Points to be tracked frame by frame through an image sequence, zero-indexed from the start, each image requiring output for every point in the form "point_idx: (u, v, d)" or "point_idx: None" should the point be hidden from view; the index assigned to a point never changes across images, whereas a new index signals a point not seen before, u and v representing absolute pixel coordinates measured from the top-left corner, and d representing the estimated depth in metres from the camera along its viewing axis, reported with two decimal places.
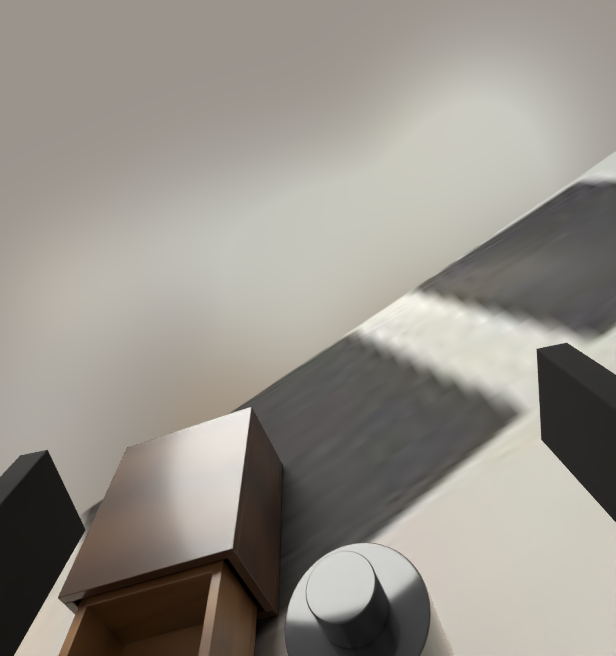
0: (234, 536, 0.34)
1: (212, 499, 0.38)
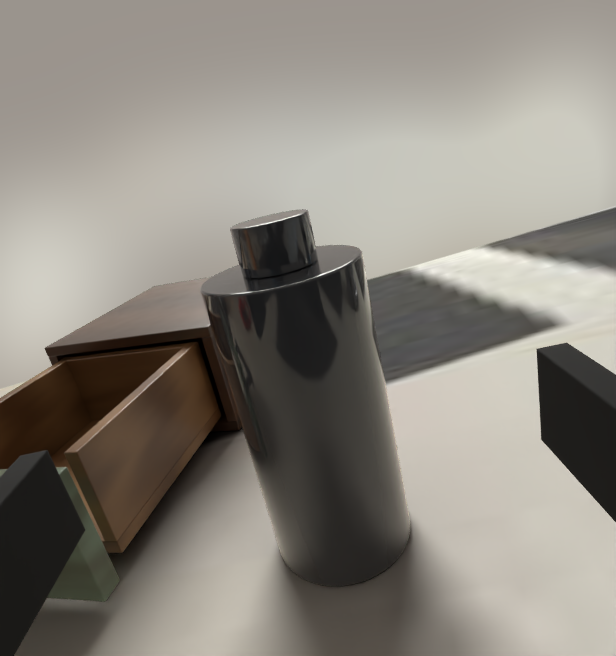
0: None
1: None
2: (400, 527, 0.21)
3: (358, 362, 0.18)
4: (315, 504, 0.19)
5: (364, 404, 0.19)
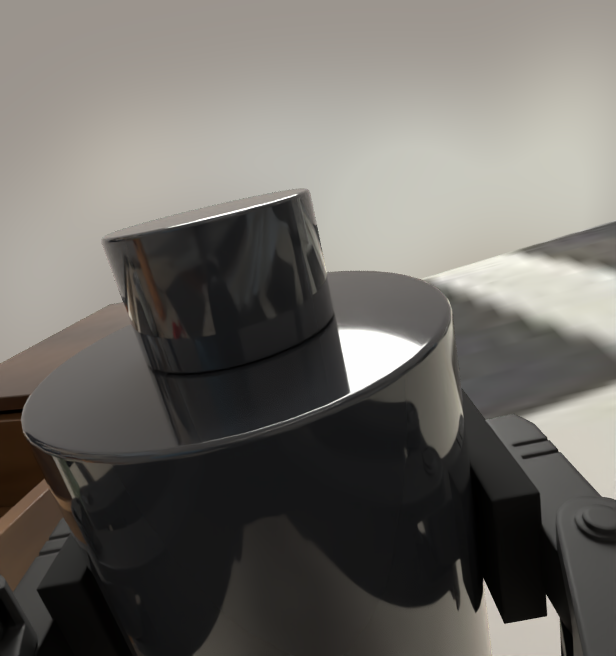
0: None
1: None
2: None
3: (448, 603, 0.07)
4: None
5: None
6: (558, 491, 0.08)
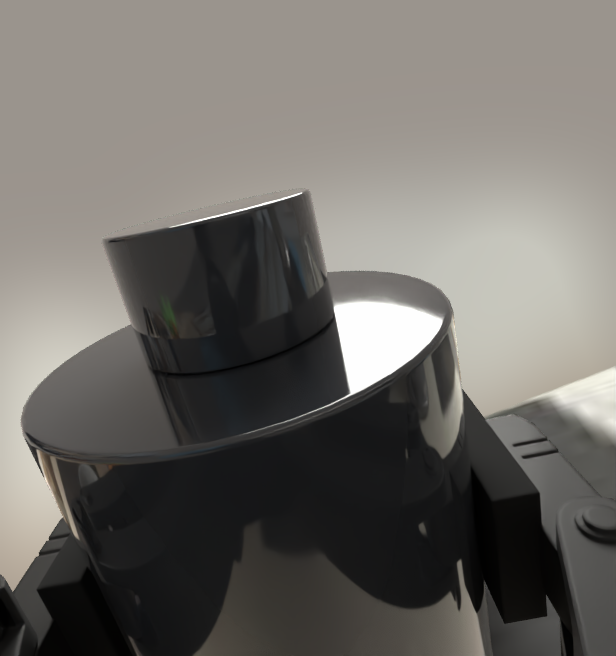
0: None
1: None
2: None
3: (449, 603, 0.07)
4: None
5: None
6: (557, 492, 0.08)
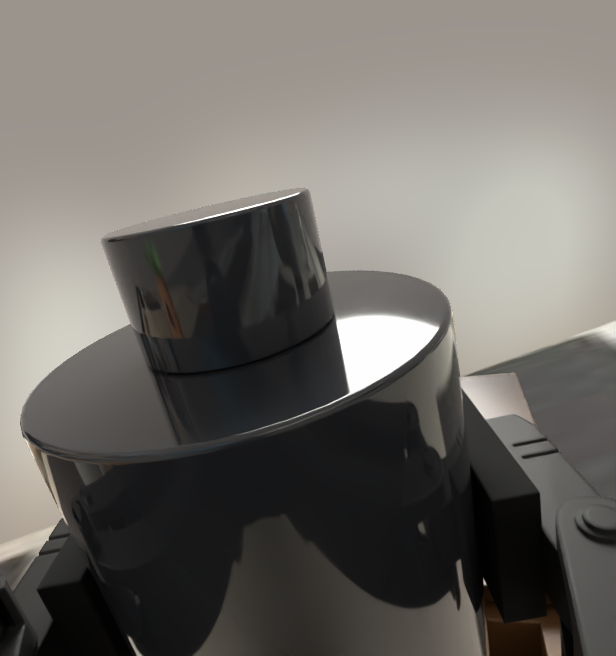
0: None
1: None
2: None
3: (449, 602, 0.07)
4: None
5: None
6: (558, 491, 0.08)
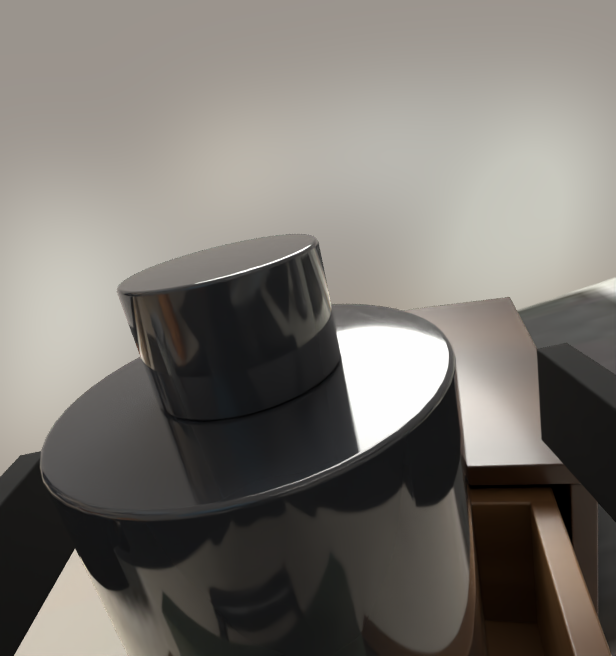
0: None
1: (490, 386, 0.20)
2: None
3: (451, 641, 0.07)
4: None
5: None
6: None
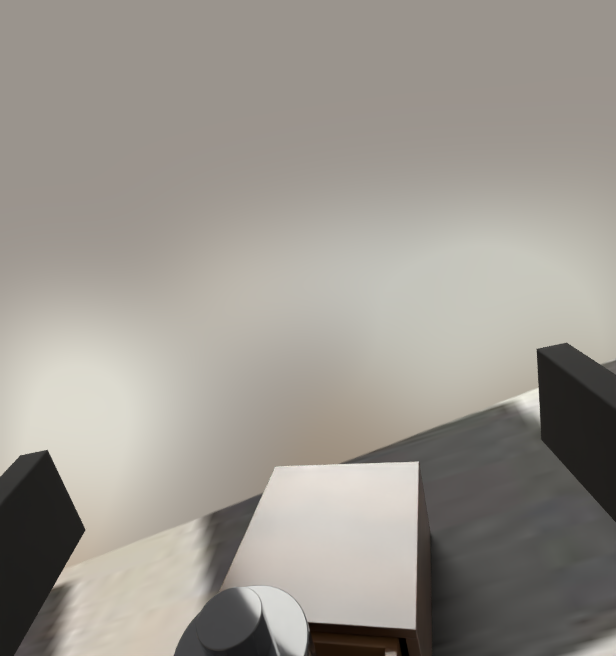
0: (416, 614, 0.30)
1: (382, 558, 0.34)
2: None
3: None
4: None
5: None
6: None
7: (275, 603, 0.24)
